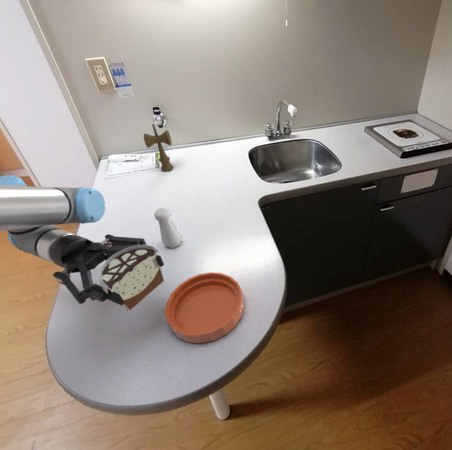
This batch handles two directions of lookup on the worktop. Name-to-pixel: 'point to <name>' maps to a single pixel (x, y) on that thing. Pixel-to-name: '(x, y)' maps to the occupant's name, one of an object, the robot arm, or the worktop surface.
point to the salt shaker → (167, 228)
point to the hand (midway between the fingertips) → (142, 279)
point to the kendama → (160, 147)
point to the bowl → (204, 307)
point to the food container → (132, 274)
